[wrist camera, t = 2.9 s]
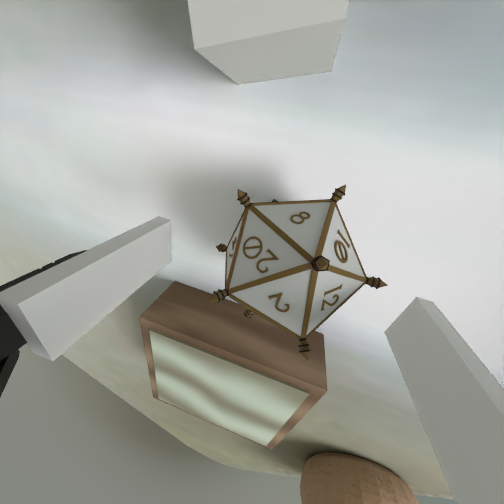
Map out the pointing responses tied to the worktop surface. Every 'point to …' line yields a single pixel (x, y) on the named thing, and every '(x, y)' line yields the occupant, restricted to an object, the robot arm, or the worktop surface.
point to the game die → (292, 264)
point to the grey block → (268, 36)
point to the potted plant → (351, 482)
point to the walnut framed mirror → (230, 365)
